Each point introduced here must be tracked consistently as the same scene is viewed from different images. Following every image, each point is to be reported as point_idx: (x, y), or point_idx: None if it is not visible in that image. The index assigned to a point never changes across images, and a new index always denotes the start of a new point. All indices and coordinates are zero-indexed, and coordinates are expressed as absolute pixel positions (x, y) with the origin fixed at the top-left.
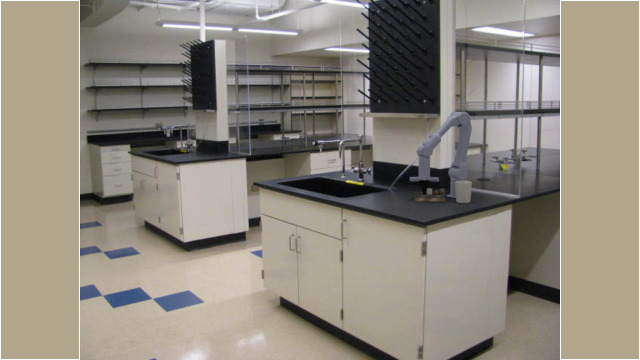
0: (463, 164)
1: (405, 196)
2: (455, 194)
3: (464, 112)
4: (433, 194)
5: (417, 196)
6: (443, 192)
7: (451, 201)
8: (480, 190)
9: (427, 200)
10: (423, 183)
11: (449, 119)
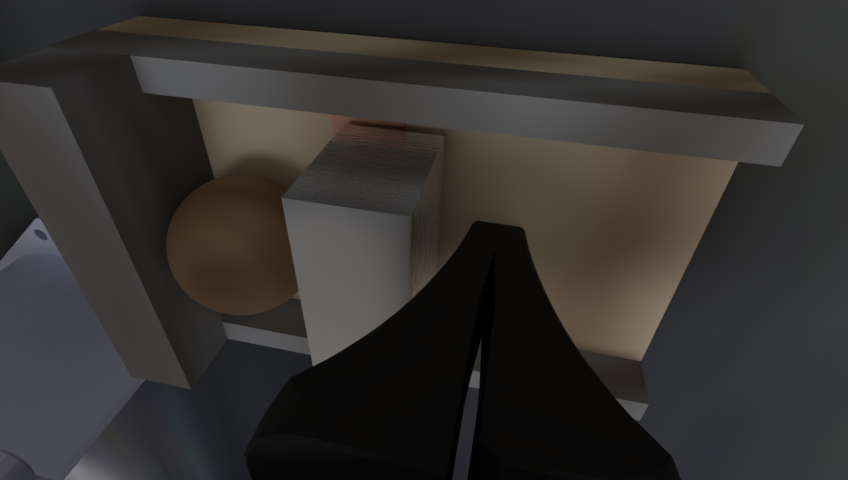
0: None
1: (737, 420)
2: (56, 285)
3: None
4: None
5: (702, 102)
6: (11, 71)
7: (45, 20)
8: None
9: (454, 48)
10: (503, 438)
11: None
